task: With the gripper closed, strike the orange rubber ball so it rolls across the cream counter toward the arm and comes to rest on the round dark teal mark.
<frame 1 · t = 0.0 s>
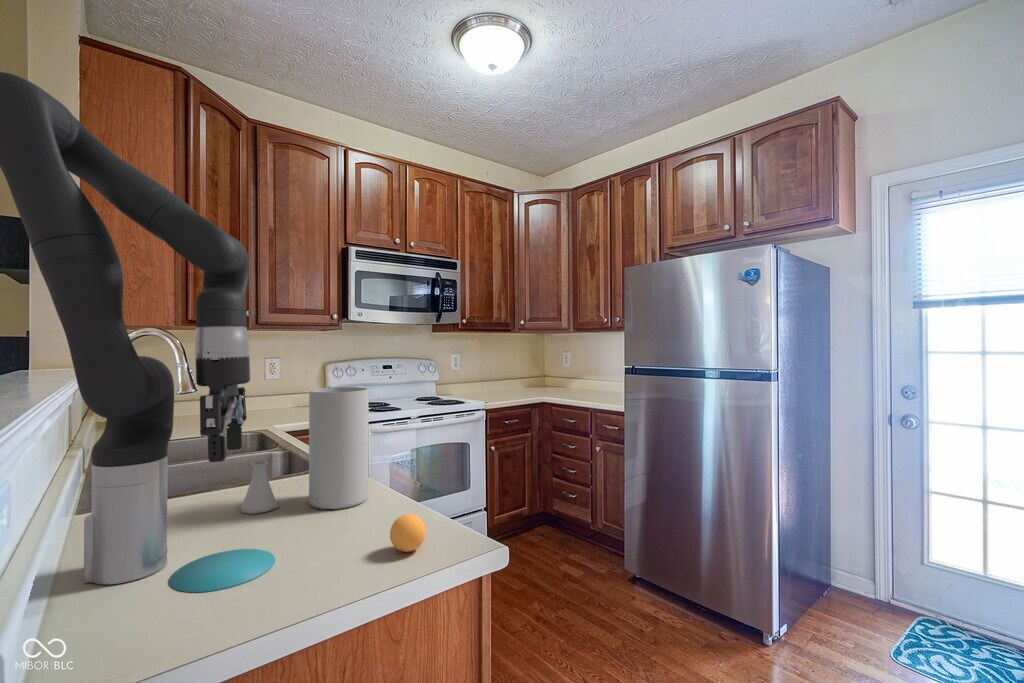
hand: (226, 455, 78), 17 cm above the worktop, tool pointing down, fingers open, 8 cm apart
flask: (259, 510, 103), on the worktop
cylinder vase: (339, 502, 108), on the worktop
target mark: (224, 569, 75), on the worktop
ball: (408, 532, 82), on the worktop
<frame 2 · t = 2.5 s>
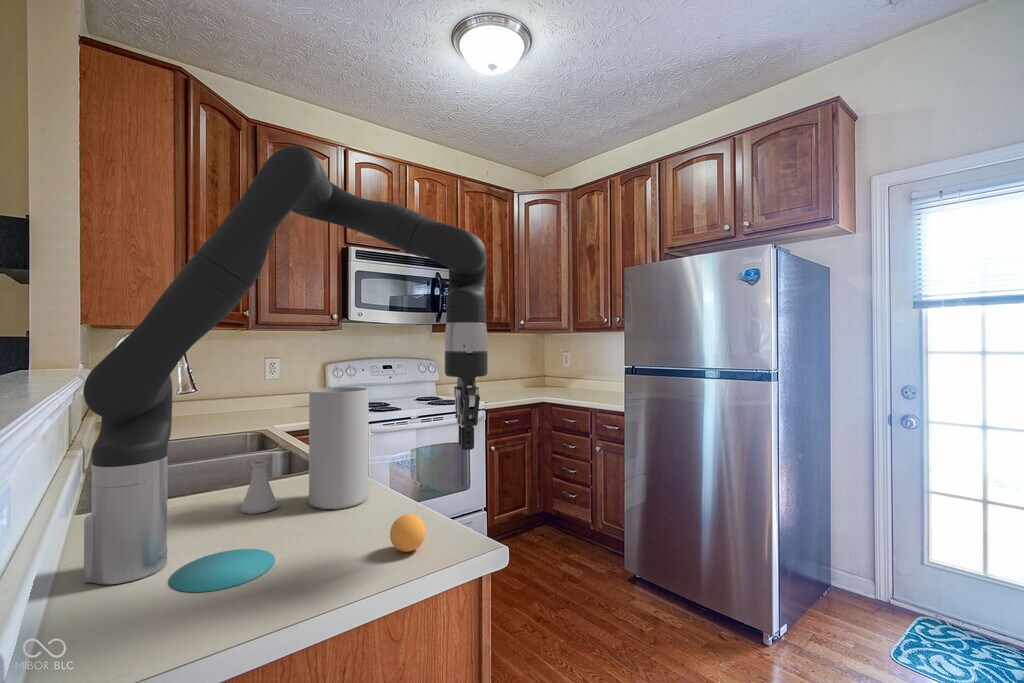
hand: (466, 447, 84), 17 cm above the worktop, tool pointing down, fingers closed
nothing on the worktop moved.
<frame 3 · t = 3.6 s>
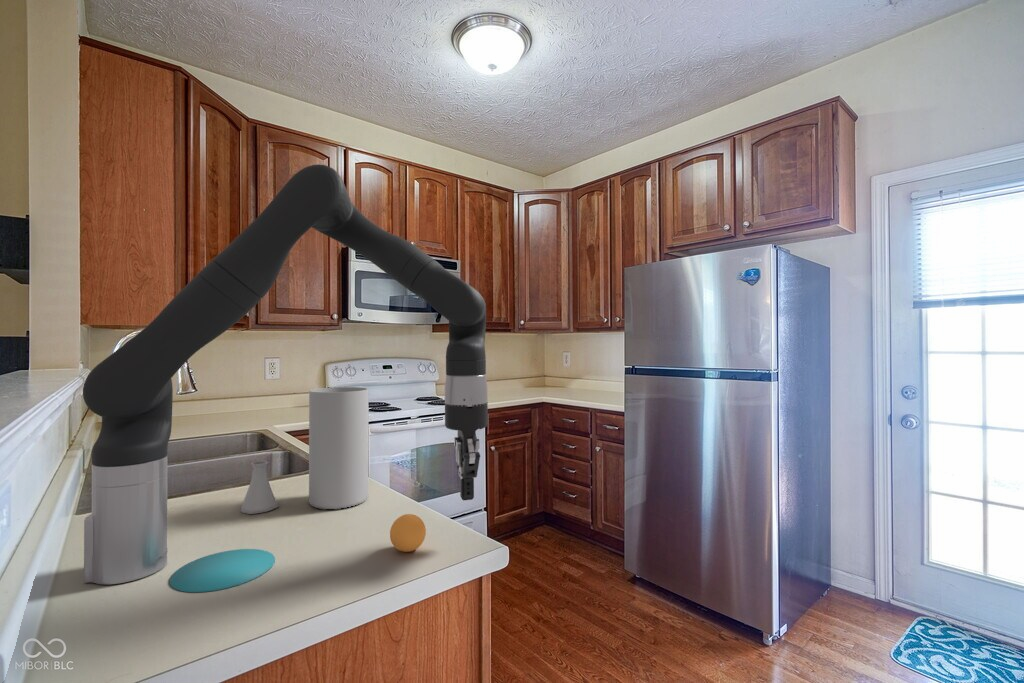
hand: (467, 498, 85), 8 cm above the worktop, tool pointing down, fingers closed
nothing on the worktop moved.
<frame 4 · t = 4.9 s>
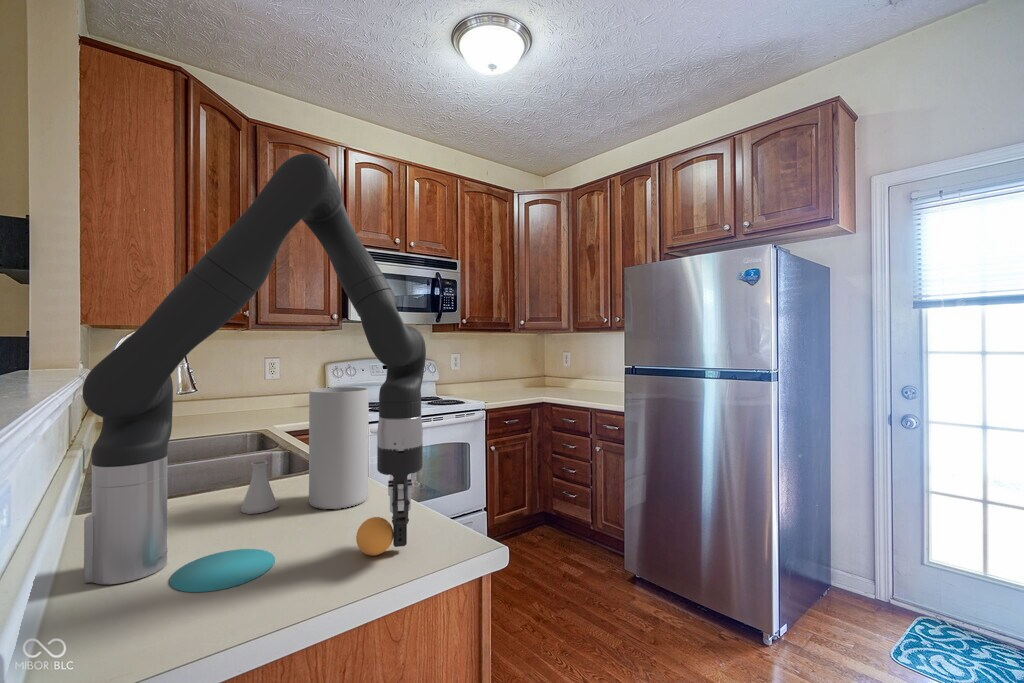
hand: (399, 544, 82), 1 cm above the worktop, tool pointing down, fingers closed
ball: (374, 536, 81), on the worktop, touching gripper
everything else where it was.
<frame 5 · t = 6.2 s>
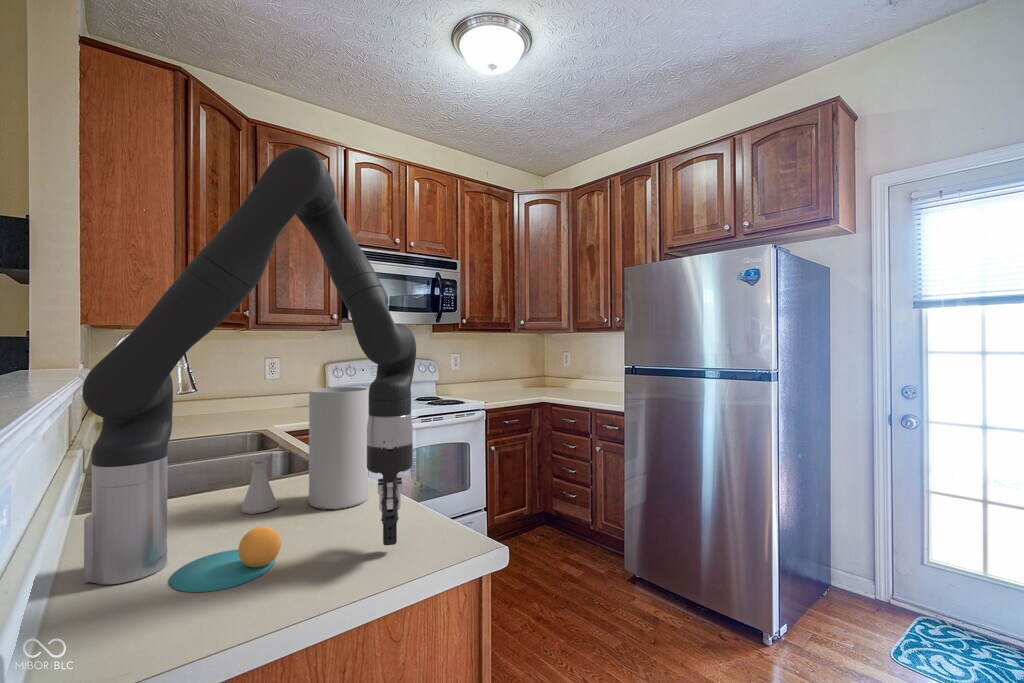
hand: (389, 543, 81), 2 cm above the worktop, tool pointing down, fingers closed
ball: (260, 546, 76), on the worktop
everything else where it was.
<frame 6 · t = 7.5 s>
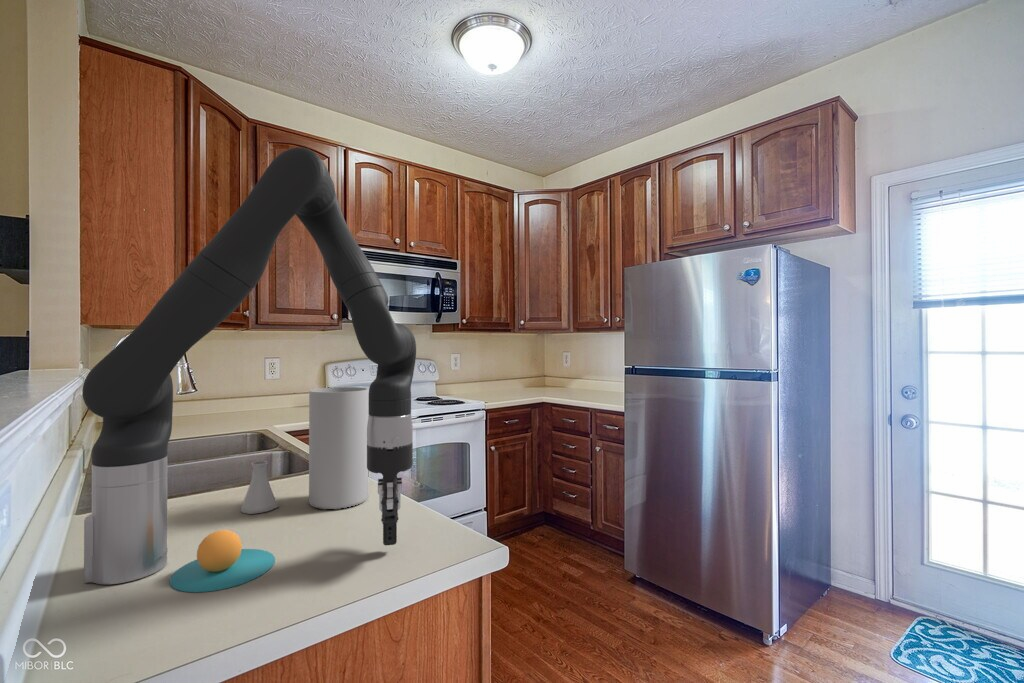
hand: (389, 543, 81), 2 cm above the worktop, tool pointing down, fingers closed
ball: (219, 550, 75), on the worktop
everything else where it was.
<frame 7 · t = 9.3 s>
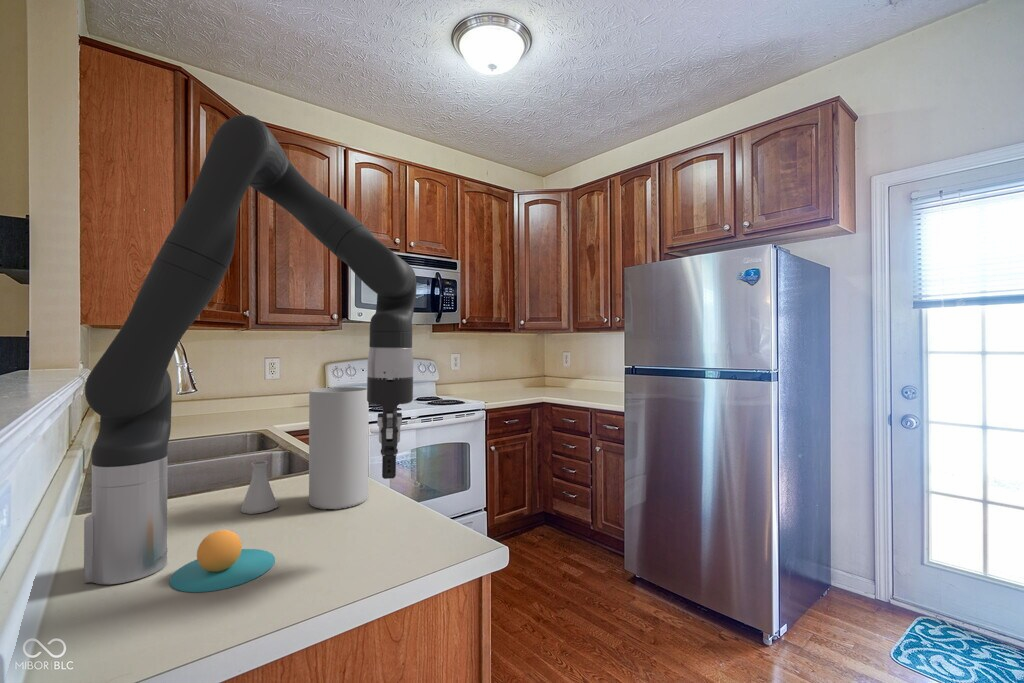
hand: (388, 477, 81), 13 cm above the worktop, tool pointing down, fingers closed
nothing on the worktop moved.
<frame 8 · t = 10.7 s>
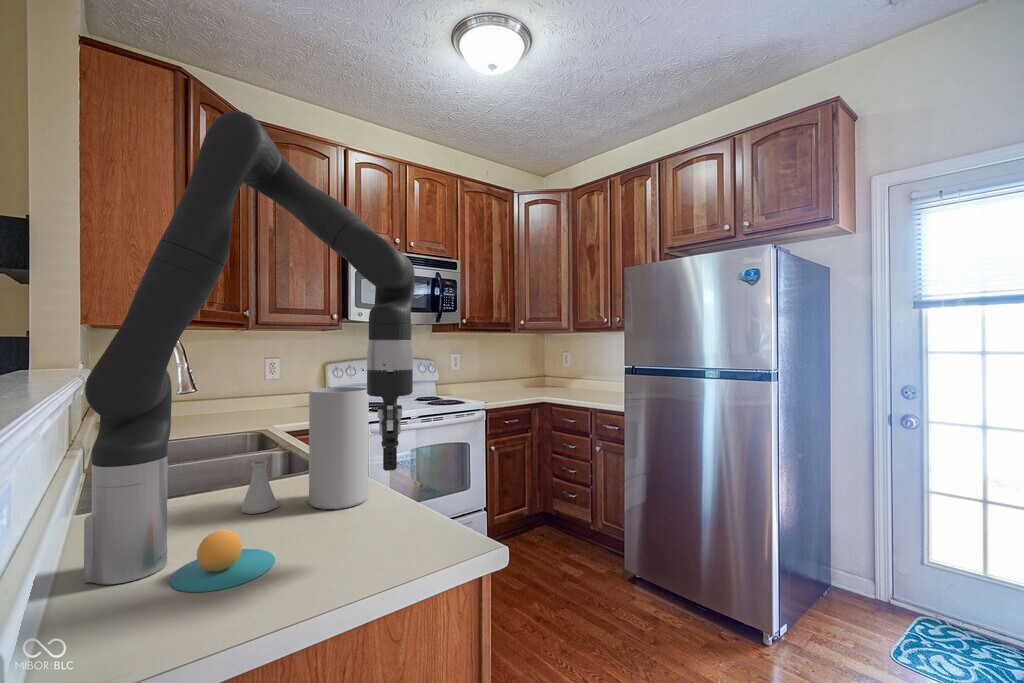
hand: (389, 469, 81), 14 cm above the worktop, tool pointing down, fingers closed
nothing on the worktop moved.
at the end: ball 0.7 cm from the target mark (horizontally); ball at rest at the end (0.0 cm/s); ball moved 28.7 cm from its start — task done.
